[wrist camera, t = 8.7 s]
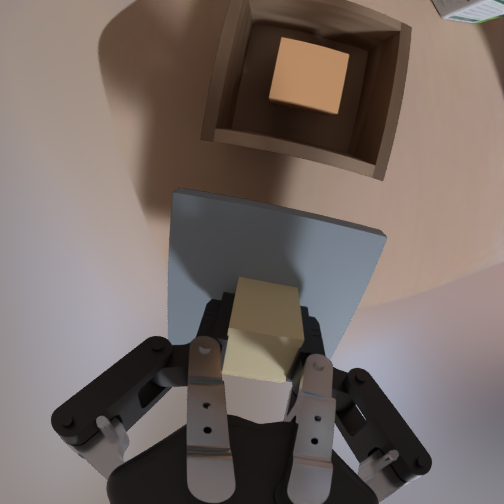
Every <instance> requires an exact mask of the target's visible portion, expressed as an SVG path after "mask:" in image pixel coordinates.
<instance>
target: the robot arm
mask: <svg viewBox="0 0 504 504" xmlns="http://www.w3.org/2000/svg"><path fill="white" fill-rule="evenodd" d="M234 299H235V294H234V293H229V292H223V296H222V300H217V299H211V300H210V301H209V302H208V303H207V304H206V307H205V310H204V313H203V317H202V319H201V322H200V326H199V329H198V332H197V335H196V337H195V338H194V339H193V340H192V341H191V342H190V343H187V344H183V345H172V344H171V342H170V341H169V340H168V339H166V338H164V337H160V336H153V337H150V338H148V339H146V340H145V341H143V343H141V344H140V345H138V346H137V347H136V348H134V349H133V350H132V351H131V352H129V353H128V354H127V355H125V356H124V357H123V358H122V359H120V360H119V361H118V362H117V363H115V364H114V365H113V366H111V367H110V368H109V369H107V370H106V371H105V372H103V373H102V374H101V375H100V376H98V377H97V378H96V379H94V380H93V381H92V382H91V383H89V384H88V385H87V386H86V387H84V388H83V389H82V390H80V391H79V392H78V393H76V394H75V395H74V396H72V397H71V398H70V399H69V400H67V401H66V402H65V403H63V404H62V405H61V406H60V407H58V408H57V409H56V410H55V411H54V412H53V414H52V417H51V424H52V427H53V429H54V430H55V431H56V432H57V433H58V435H59V436H60V437H61V439H62V440H63V441H64V442H65V443H66V444H67V445H68V446H69V447H70V448H71V449H72V450H73V451H74V452H76V453H77V454H78V455H79V456H81V457H82V458H84V459H86V460H87V461H88V462H89V463H90V464H91V465H92V466H93V467H94V468H95V469H96V470H97V471H98V472H99V473H100V474H101V475H103V476H104V477H105V478H106V479H107V480H108V481H107V495H108V498H109V501H110V504H379V502H380V501H382V500H384V499H385V498H387V497H388V496H389V495H391V494H392V493H394V492H395V491H396V490H398V489H399V488H401V487H403V486H405V485H406V484H408V483H410V482H412V481H414V480H416V479H417V478H419V477H421V476H423V475H425V474H426V473H428V472H429V470H430V468H431V465H432V460H431V457H430V455H429V454H428V452H427V451H426V449H425V448H424V447H423V445H422V444H421V443H420V441H419V440H418V438H417V437H416V435H415V434H414V433H413V432H412V430H411V429H410V427H409V426H408V425H407V423H406V422H405V420H404V419H403V418H402V416H401V415H400V414H399V412H398V411H397V410H396V408H395V407H394V406H393V404H392V403H391V402H390V400H389V399H388V398H387V396H386V395H385V394H384V392H383V391H382V390H381V388H380V387H379V386H378V384H377V383H376V382H375V380H374V379H373V378H372V376H371V375H370V374H369V373H368V372H367V371H366V370H364V369H361V368H354V369H351V370H350V371H349V373H347V372H344V371H341V370H338V369H336V368H334V367H333V364H332V362H331V361H330V360H329V359H328V358H327V357H326V355H325V350H324V344H323V339H322V334H321V329H320V324H319V322H318V321H317V319H316V318H315V317H312V316H309V312H308V307H306V306H300V308H301V316H302V324H303V332H304V342H303V344H302V346H301V348H299V350H298V352H297V354H296V356H295V359H294V361H293V363H292V365H291V367H290V370H289V372H288V374H287V376H286V381H289V382H292V385H293V386H292V388H291V390H290V393H289V399H288V403H287V407H286V412H285V417H284V420H283V421H282V422H274V423H266V424H257V423H254V422H252V421H249V420H246V419H243V418H241V417H238V416H233V415H228V414H227V410H226V398H225V386H224V381H222V370H223V365H224V359H225V354H226V348H227V343H228V338H229V336H227V334H228V329H229V324H230V319H231V314H232V309H233V304H234ZM179 386H188V391H187V392H188V393H187V424H186V425H184V426H182V427H181V428H180V429H178V430H177V431H175V432H174V433H172V434H171V435H169V436H168V437H166V438H164V439H163V440H162V441H160V442H158V443H157V444H155V445H153V446H152V447H150V448H149V449H147V450H145V451H144V452H142V453H141V454H139V455H137V456H135V457H134V458H132V459H130V460H128V461H127V462H125V463H124V460H123V455H124V452H125V450H126V449H127V448H128V446H129V437H128V435H127V433H126V432H127V431H128V430H129V429H130V428H131V427H132V426H133V425H134V424H135V423H136V422H137V421H138V420H139V419H140V418H141V417H142V416H143V415H144V414H146V412H147V411H149V410H150V409H151V408H152V407H153V406H154V405H155V404H156V403H157V402H158V401H159V400H160V399H161V398H162V397H163V396H164V395H165V394H166V393H167V392H168V391H169V390H170V389H171V388H172V387H179ZM356 405H357V406H358V408H359V409H360V411H361V412H362V414H363V415H364V417H365V419H366V420H365V419H364V417H363V416H362V414H361V413H360V411H359V410H358V408H357V407H356ZM334 423H335V424H336V426H337V427H338V429H339V431H340V432H341V434H342V436H343V437H344V439H345V440H346V442H347V444H348V445H349V447H350V449H351V450H352V452H353V453H354V455H355V456H356V458H357V460H358V461H359V463H360V465H359V472H358V475H357V474H356V473H355V472H354V471H353V470H352V469H351V468H350V467H349V466H348V465H347V464H346V463H345V462H344V461H343V460H342V459H341V458H340V457H339V456H338V455H337V453H336V452H335V451H334V450H333V449H332V444H333V435H334Z"/></svg>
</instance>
